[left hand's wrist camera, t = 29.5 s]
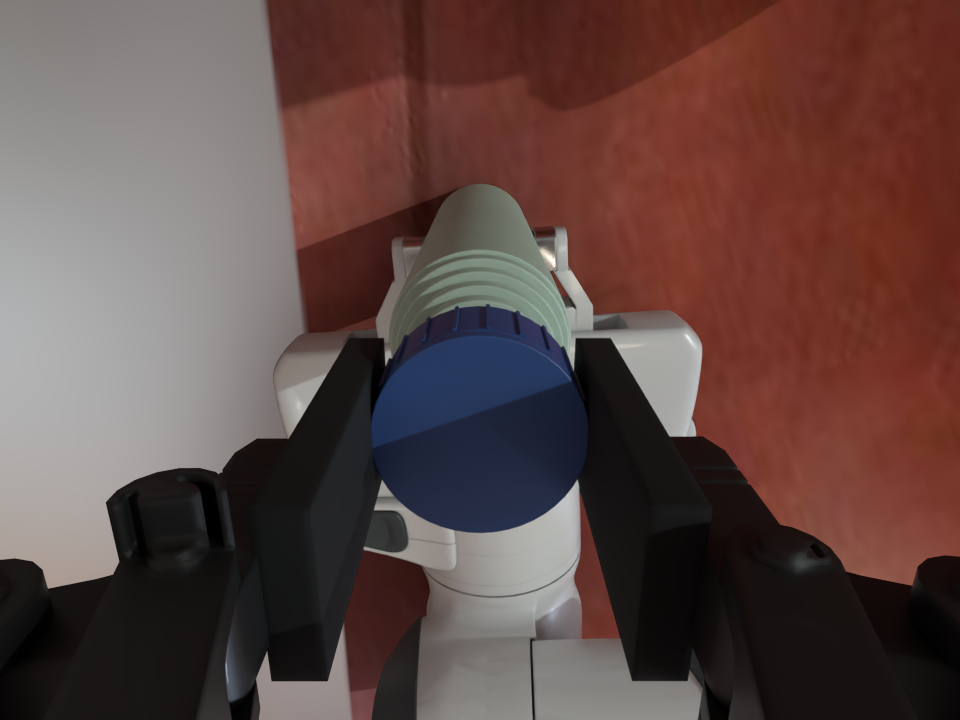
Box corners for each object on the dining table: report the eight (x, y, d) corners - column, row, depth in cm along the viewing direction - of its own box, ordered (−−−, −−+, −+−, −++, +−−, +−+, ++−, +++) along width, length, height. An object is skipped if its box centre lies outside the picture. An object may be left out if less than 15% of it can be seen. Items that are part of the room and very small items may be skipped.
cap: (616, 411, 14) (637, 456, 12) (465, 515, 15) (462, 572, 13) (497, 261, 13) (500, 285, 11) (340, 383, 14) (319, 424, 12)
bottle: (475, 293, 37) (469, 564, 14) (415, 226, 36) (303, 409, 13) (544, 235, 36) (653, 429, 13) (484, 163, 35) (491, 244, 12)
